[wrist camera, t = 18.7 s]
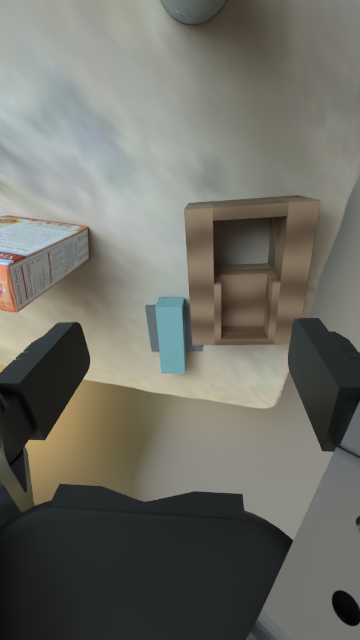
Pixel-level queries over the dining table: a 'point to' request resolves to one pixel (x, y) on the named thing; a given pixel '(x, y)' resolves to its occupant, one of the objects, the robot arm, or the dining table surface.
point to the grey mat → (154, 333)
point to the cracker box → (36, 257)
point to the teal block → (171, 334)
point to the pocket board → (250, 272)
